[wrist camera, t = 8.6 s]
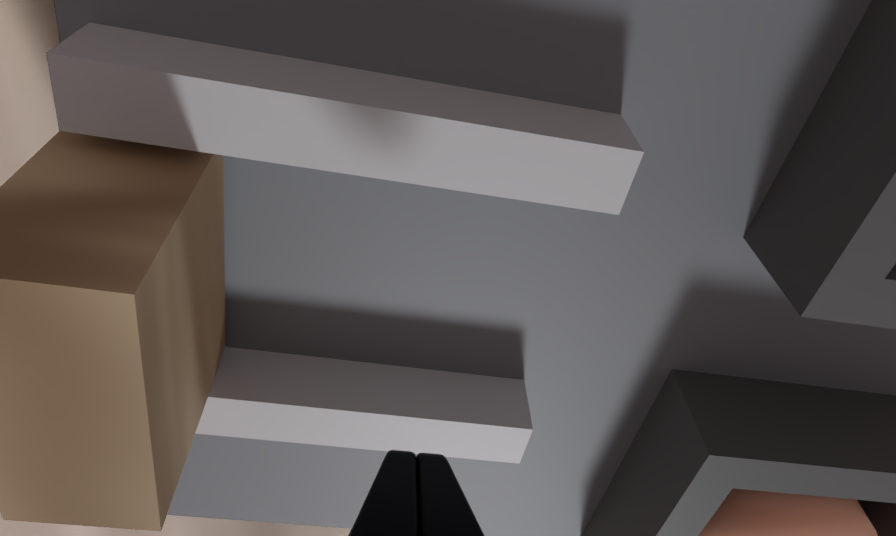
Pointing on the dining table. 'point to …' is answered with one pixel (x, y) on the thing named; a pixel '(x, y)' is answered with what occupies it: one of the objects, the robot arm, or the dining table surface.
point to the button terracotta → (787, 516)
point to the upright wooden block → (106, 327)
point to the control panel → (528, 247)
